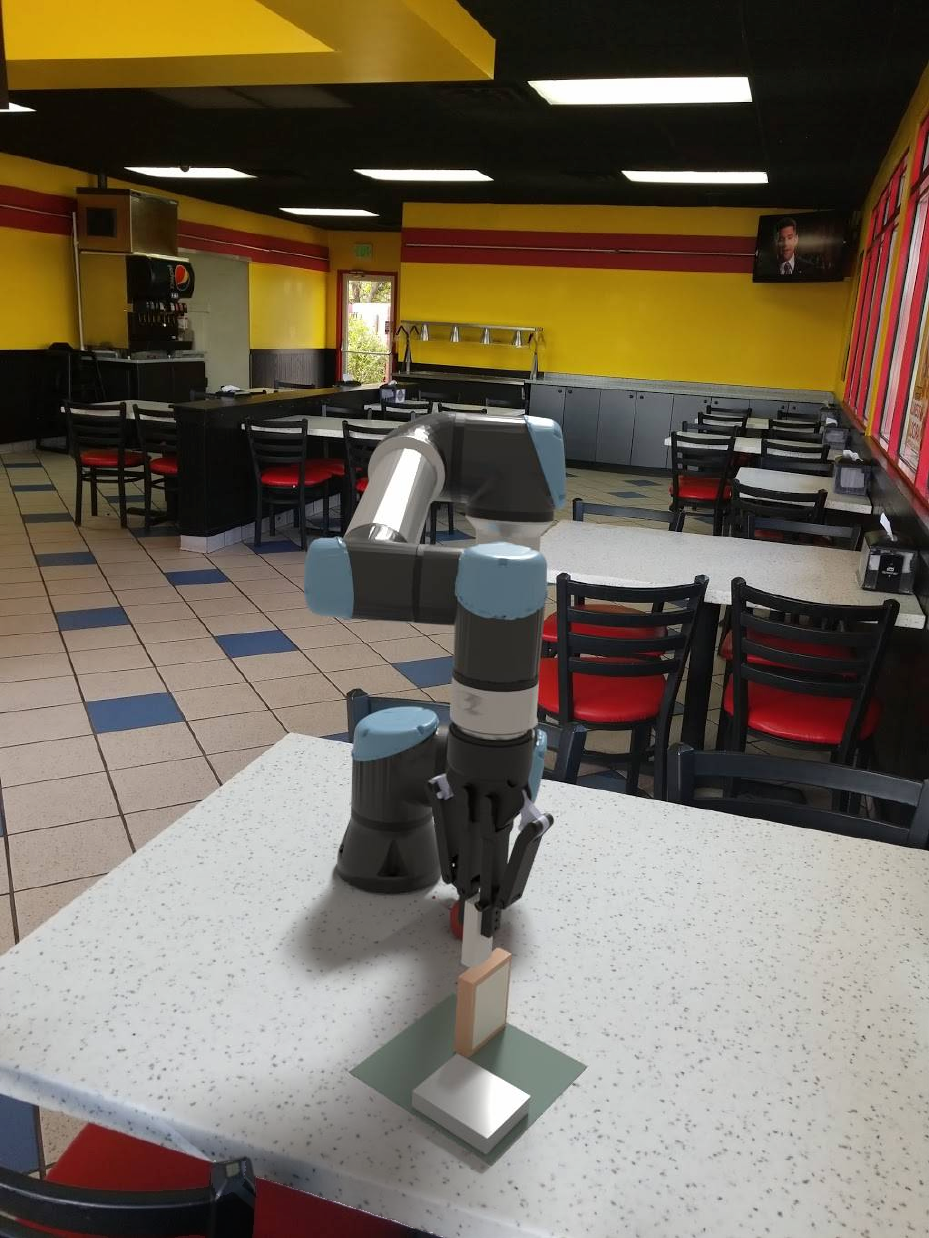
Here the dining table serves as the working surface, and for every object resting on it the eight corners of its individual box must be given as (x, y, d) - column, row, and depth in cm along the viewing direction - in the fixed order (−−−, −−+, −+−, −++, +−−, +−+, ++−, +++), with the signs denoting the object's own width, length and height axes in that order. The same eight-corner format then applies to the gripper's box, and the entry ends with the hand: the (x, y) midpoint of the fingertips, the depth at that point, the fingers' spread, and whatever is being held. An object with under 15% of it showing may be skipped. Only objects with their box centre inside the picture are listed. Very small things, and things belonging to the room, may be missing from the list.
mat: (348, 1076, 97) (348, 1071, 97) (452, 997, 110) (452, 992, 110) (491, 1170, 87) (491, 1165, 87) (587, 1070, 100) (587, 1066, 100)
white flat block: (412, 1090, 92) (487, 1138, 87) (457, 1053, 98) (530, 1096, 93) (411, 1107, 93) (486, 1156, 88) (456, 1069, 98) (528, 1112, 93)
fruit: (462, 934, 127) (435, 883, 125) (501, 919, 125) (474, 868, 124) (456, 961, 121) (427, 909, 119) (497, 946, 119) (468, 893, 118)
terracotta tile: (453, 1050, 101) (458, 976, 99) (492, 1018, 106) (498, 947, 104) (468, 1059, 100) (473, 984, 98) (507, 1026, 105) (512, 954, 103)
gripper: (407, 715, 84) (397, 949, 90) (530, 758, 77) (510, 1010, 83) (459, 694, 90) (447, 916, 96) (579, 733, 82) (556, 970, 89)
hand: (476, 959), depth 89 cm, fingers closed
